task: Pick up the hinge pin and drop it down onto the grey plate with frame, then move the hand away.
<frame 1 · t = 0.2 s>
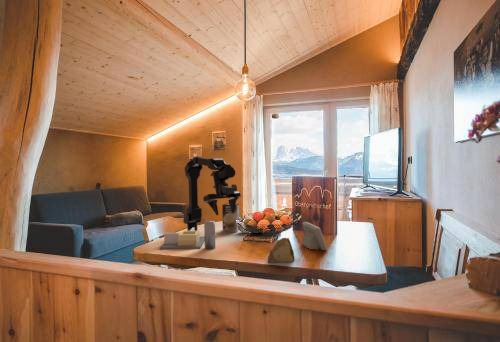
hand: (225, 214, 137), 15 cm above the table, tool tilted 15°, fingers open, 9 cm apart
coffee box: (231, 231, 169), on the table
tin: (251, 233, 162), on the table
rock: (280, 261, 114), on the table
hinge pin: (210, 248, 133), on the table
grey plate with frame: (189, 244, 139), on the table
digital clock: (314, 247, 133), on the table
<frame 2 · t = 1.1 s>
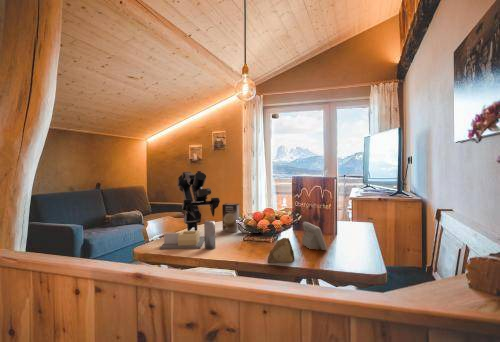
hand: (204, 217, 140), 13 cm above the table, tool tilted 45°, fingers open, 9 cm apart
nothing on the table moved.
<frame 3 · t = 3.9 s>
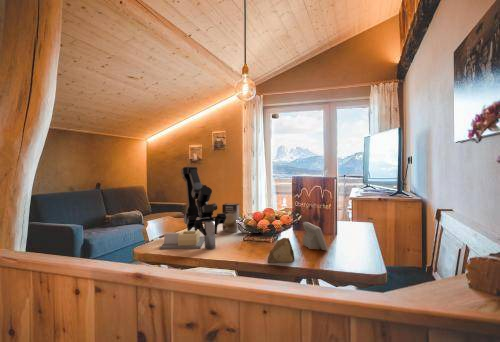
hand: (210, 234, 132), 7 cm above the table, tool tilted 45°, fingers closed on hinge pin, 5 cm apart
hinge pin: (210, 248, 133), on the table, touching gripper
everything else where it was.
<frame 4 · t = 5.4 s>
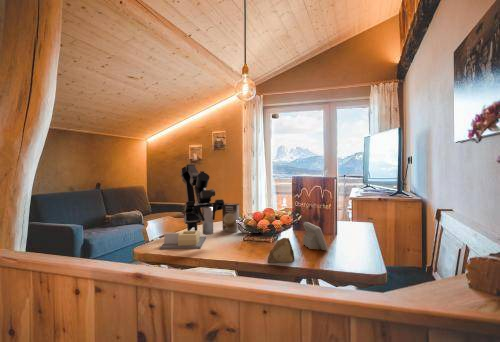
hand: (208, 220, 133), 13 cm above the table, tool tilted 45°, fingers closed on hinge pin, 5 cm apart
hinge pin: (208, 233, 134), point 7 cm above the table, touching gripper
everything else where it was.
when the fingers open (11 cm above the table, at t = 7.2 s): hinge pin drops 4 cm, resting on grey plate with frame.
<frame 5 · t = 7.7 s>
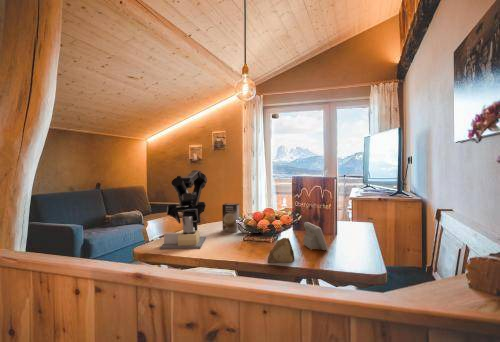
hand: (189, 222, 138), 12 cm above the table, tool tilted 45°, fingers open, 9 cm apart
hinge pin: (189, 242, 139), point 1 cm above the table, tilted 6°, touching grey plate with frame
everything else where it was.
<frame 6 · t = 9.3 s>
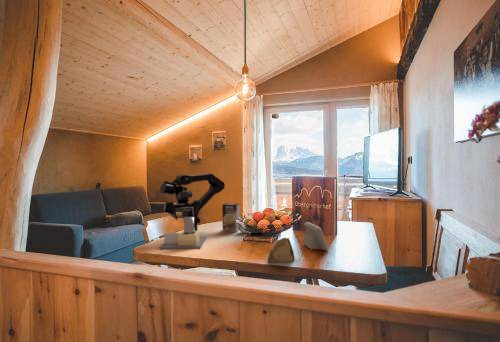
hand: (185, 218, 146), 12 cm above the table, tool tilted 45°, fingers open, 9 cm apart
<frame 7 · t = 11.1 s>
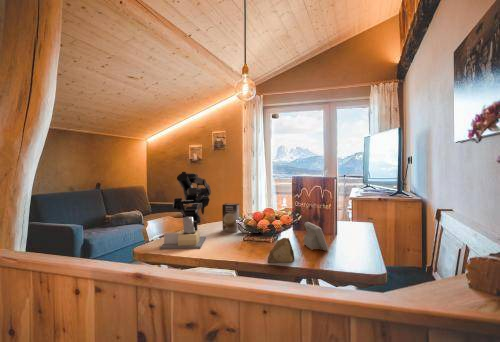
hand: (194, 215, 146), 14 cm above the table, tool tilted 45°, fingers open, 9 cm apart
nothing on the table moved.
at the end: hinge pin 0.0 cm off-centre on the grey plate with frame, point 1.1 cm above the grey plate with frame's base; hinge pin tilted 2°; the gripper is holding nothing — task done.
